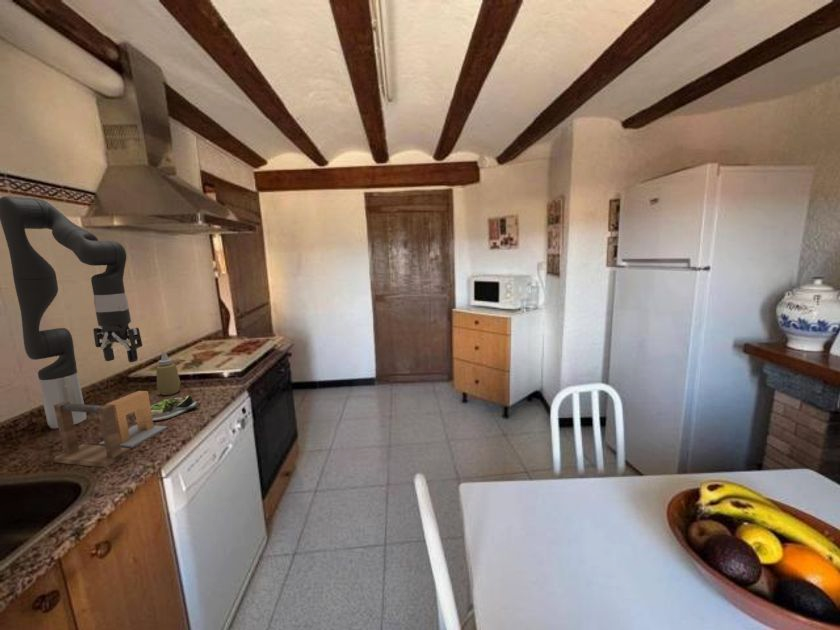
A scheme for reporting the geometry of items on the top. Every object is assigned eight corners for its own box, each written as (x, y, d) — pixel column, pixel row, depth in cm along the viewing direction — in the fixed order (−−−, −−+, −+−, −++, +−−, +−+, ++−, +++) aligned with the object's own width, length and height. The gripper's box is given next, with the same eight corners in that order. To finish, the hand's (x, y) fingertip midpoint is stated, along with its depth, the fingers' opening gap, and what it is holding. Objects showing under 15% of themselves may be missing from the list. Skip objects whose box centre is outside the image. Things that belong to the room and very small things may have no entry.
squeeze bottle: (170, 397, 142) (163, 354, 139) (153, 396, 143) (146, 354, 140) (186, 389, 150) (180, 349, 147) (170, 389, 151) (163, 348, 148)
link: (112, 442, 106) (105, 404, 104) (144, 426, 116) (138, 390, 114) (122, 443, 106) (115, 404, 103) (153, 426, 116) (147, 391, 113)
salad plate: (149, 430, 115) (147, 417, 115) (119, 421, 123) (117, 408, 122) (206, 406, 133) (204, 395, 132) (176, 400, 140) (175, 389, 139)
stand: (55, 462, 97) (43, 408, 95) (83, 448, 104) (72, 398, 102) (105, 467, 94) (94, 412, 92) (130, 453, 101) (121, 401, 98)
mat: (99, 444, 106) (98, 443, 106) (137, 425, 118) (136, 424, 118) (132, 447, 104) (131, 445, 104) (167, 428, 116) (167, 426, 116)
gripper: (78, 310, 101) (89, 364, 104) (119, 311, 99) (129, 365, 102) (106, 306, 109) (115, 356, 112) (144, 307, 106) (152, 358, 109)
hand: (121, 361), depth 107 cm, fingers open, 8 cm apart
